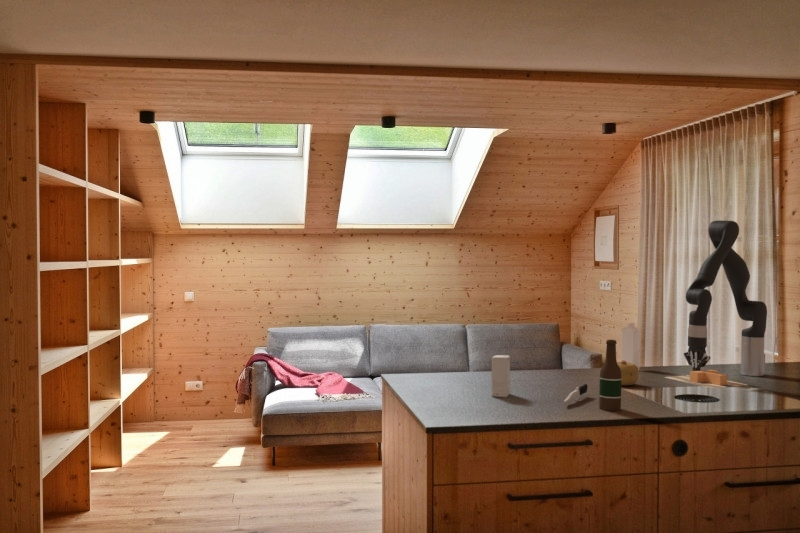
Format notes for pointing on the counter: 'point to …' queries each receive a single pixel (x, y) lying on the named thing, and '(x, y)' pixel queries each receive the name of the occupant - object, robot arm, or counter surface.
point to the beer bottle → (610, 380)
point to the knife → (575, 394)
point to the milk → (630, 344)
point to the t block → (708, 377)
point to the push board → (687, 379)
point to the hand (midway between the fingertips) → (696, 376)
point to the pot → (628, 373)
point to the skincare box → (501, 375)
